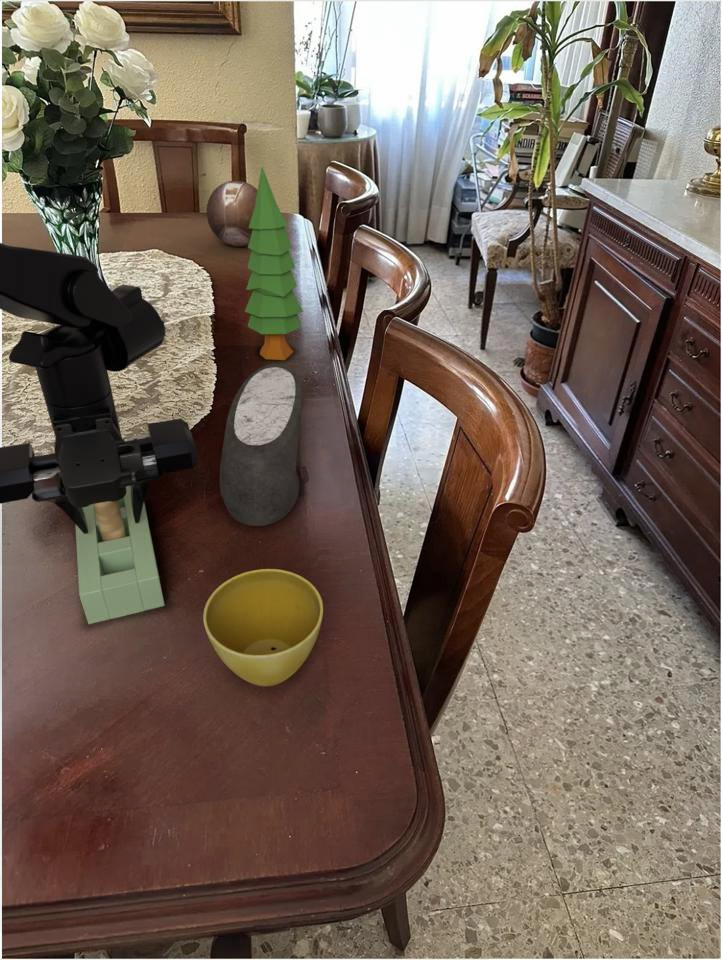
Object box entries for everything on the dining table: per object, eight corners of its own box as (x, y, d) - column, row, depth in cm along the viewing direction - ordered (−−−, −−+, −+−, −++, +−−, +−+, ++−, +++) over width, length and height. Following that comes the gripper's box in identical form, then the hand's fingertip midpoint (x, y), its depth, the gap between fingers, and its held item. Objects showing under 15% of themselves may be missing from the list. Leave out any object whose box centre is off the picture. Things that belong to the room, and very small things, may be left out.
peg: (109, 568, 70) (90, 500, 65) (107, 553, 72) (89, 487, 67) (132, 563, 71) (116, 495, 66) (130, 548, 73) (114, 482, 67)
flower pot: (335, 698, 58) (335, 642, 53) (217, 723, 55) (208, 667, 51) (311, 614, 65) (309, 560, 61) (207, 633, 63) (199, 579, 59)
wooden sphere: (209, 255, 159) (202, 188, 150) (210, 237, 171) (203, 175, 162) (272, 253, 161) (268, 187, 153) (268, 236, 173) (265, 174, 165)
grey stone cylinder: (293, 531, 76) (290, 463, 70) (217, 529, 76) (208, 461, 70) (310, 421, 96) (309, 361, 91) (250, 419, 96) (245, 360, 91)
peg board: (88, 624, 64) (79, 595, 61) (81, 517, 77) (73, 489, 75) (164, 606, 66) (158, 577, 64) (144, 504, 79) (139, 477, 77)
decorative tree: (246, 363, 111) (230, 169, 94) (250, 340, 119) (236, 157, 101) (304, 363, 112) (298, 170, 94) (304, 340, 119) (299, 158, 102)
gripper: (-47, 457, 51) (10, 601, 60) (197, 418, 57) (216, 554, 66) (-34, 393, 59) (15, 527, 68) (177, 364, 65) (197, 491, 74)
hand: (111, 526), depth 69 cm, fingers open, 5 cm apart
